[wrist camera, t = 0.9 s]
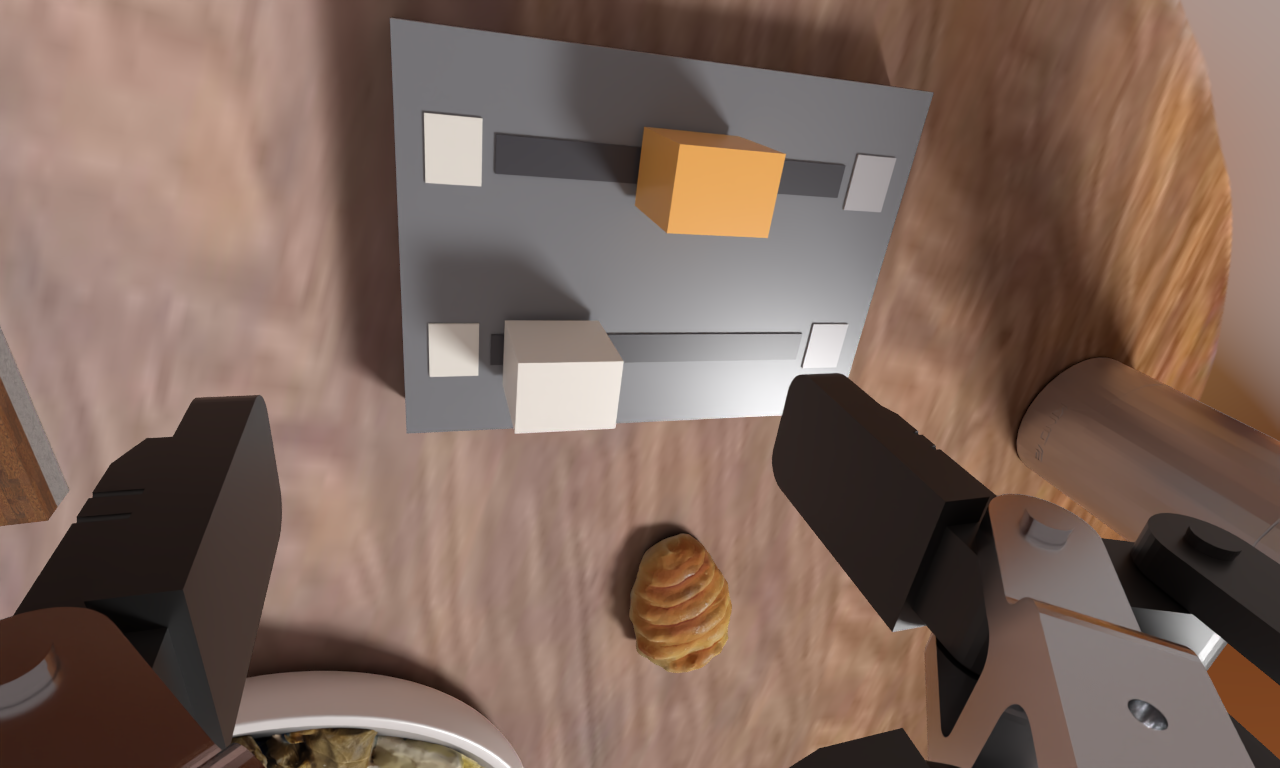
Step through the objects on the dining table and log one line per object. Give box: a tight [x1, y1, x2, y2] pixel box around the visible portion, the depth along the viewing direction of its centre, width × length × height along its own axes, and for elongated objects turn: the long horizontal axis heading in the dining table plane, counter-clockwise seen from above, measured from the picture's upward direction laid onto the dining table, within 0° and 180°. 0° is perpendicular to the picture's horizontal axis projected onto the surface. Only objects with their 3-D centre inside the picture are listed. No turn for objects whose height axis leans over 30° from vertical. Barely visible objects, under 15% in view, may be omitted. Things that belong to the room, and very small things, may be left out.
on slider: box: [503, 320, 624, 434], centre depth 27 cm, size 4×3×4 cm
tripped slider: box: [635, 127, 786, 238], centre depth 25 cm, size 4×3×4 cm
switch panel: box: [390, 17, 933, 433], centre depth 30 cm, size 22×16×3 cm
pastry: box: [629, 533, 732, 673], centre depth 42 cm, size 9×7×4 cm
